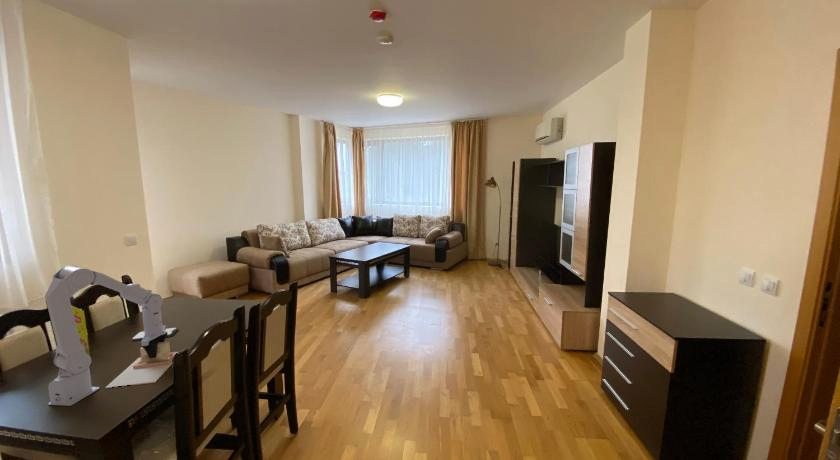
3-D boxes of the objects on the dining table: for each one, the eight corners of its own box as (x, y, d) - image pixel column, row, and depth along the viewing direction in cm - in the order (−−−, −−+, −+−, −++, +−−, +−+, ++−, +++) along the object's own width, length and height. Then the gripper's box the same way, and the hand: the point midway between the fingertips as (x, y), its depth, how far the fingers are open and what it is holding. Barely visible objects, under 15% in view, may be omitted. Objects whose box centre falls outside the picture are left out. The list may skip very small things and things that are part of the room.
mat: (155, 382, 120) (155, 381, 120) (105, 388, 116) (105, 387, 116) (180, 354, 140) (180, 353, 140) (139, 358, 136) (138, 357, 136)
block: (141, 363, 130) (140, 348, 129) (147, 357, 134) (146, 343, 134) (165, 360, 132) (163, 346, 131) (170, 354, 136) (169, 341, 136)
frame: (178, 354, 139) (178, 351, 139) (168, 364, 131) (168, 362, 131) (145, 357, 136) (144, 355, 136) (133, 368, 128) (132, 365, 128)
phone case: (130, 342, 151) (171, 337, 155) (129, 339, 150) (171, 334, 155) (140, 334, 159) (178, 330, 164) (139, 331, 159) (178, 326, 164)
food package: (73, 348, 143) (67, 304, 141) (76, 347, 144) (71, 303, 142) (88, 357, 136) (82, 311, 134) (91, 356, 137) (85, 310, 135)
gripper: (155, 329, 125) (158, 362, 127) (172, 314, 139) (175, 345, 141) (133, 330, 123) (136, 364, 125) (153, 316, 137) (156, 346, 139)
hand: (156, 354), depth 133 cm, fingers closed on block, 4 cm apart
